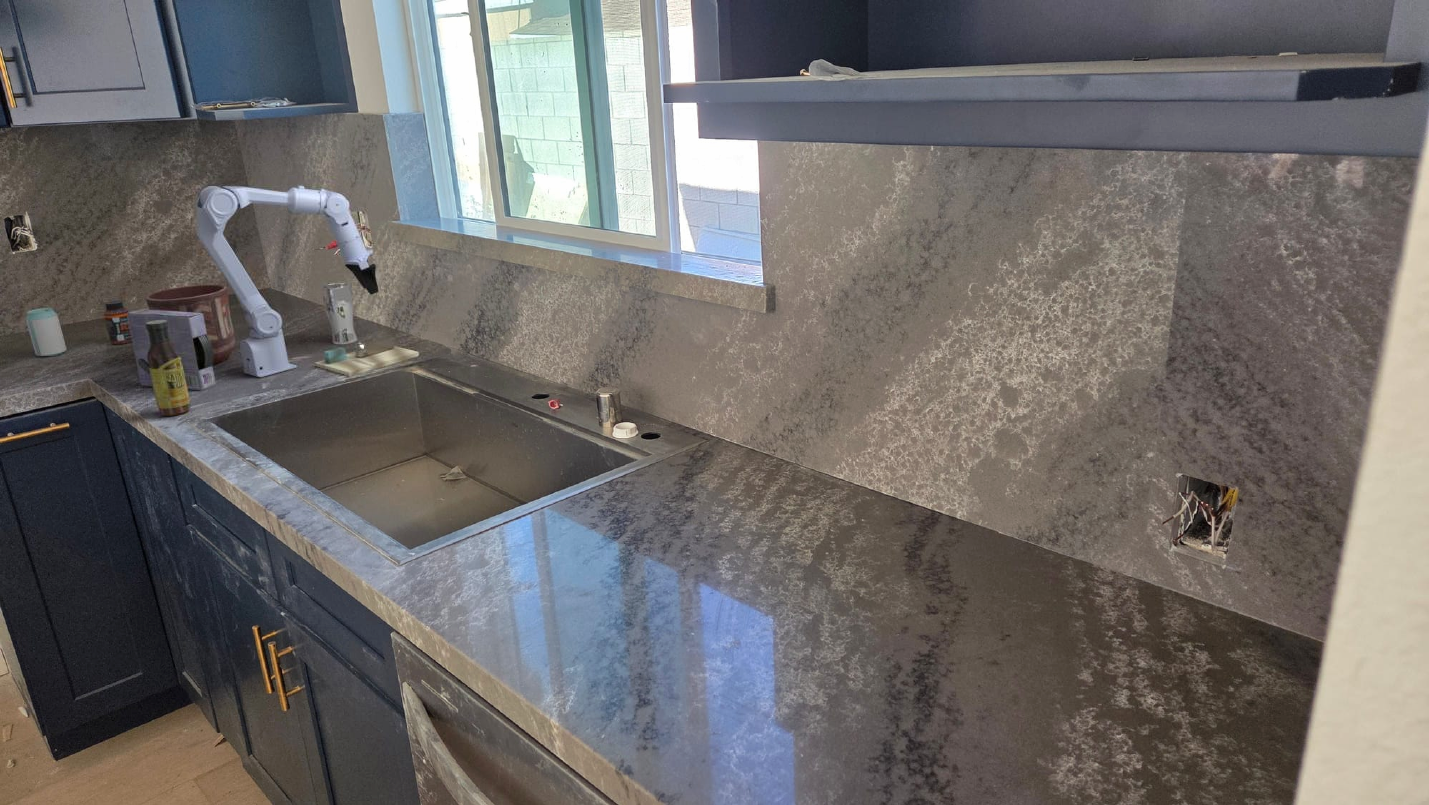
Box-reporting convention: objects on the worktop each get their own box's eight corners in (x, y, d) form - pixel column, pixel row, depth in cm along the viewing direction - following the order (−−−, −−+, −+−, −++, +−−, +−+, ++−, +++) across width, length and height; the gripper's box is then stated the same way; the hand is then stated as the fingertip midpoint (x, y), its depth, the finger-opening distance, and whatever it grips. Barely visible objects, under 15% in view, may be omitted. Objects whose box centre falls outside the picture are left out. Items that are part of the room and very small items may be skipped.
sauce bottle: (178, 417, 211) (156, 326, 204) (152, 417, 212) (130, 326, 205) (199, 407, 217) (178, 318, 210) (174, 406, 218) (153, 317, 211)
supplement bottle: (127, 344, 272) (117, 304, 268) (106, 345, 272) (95, 305, 268) (140, 338, 277) (130, 298, 274) (119, 339, 278) (108, 299, 274)
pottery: (202, 374, 241) (186, 300, 235) (146, 370, 246) (129, 298, 241) (256, 354, 257) (242, 284, 251) (202, 350, 262) (187, 283, 256)
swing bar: (360, 358, 243) (357, 344, 242) (354, 356, 244) (351, 343, 243) (394, 348, 250) (392, 335, 249) (388, 346, 251) (386, 333, 250)
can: (54, 349, 270) (42, 306, 266) (73, 351, 268) (61, 307, 264) (30, 357, 264) (17, 313, 260) (49, 358, 262) (36, 314, 258)
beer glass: (341, 346, 259) (330, 289, 254) (325, 342, 263) (315, 286, 258) (364, 339, 264) (354, 283, 259) (349, 336, 268) (339, 281, 263)
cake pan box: (222, 384, 232) (205, 310, 226) (205, 391, 227) (188, 316, 222) (157, 380, 238) (139, 308, 232) (140, 387, 233) (121, 313, 227)
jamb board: (349, 376, 233) (347, 360, 232) (315, 366, 242) (312, 351, 241) (418, 355, 246) (416, 340, 245) (384, 347, 256) (381, 332, 254)
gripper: (370, 238, 240) (392, 289, 246) (358, 228, 252) (379, 278, 258) (342, 249, 237) (365, 300, 244) (331, 239, 249) (353, 288, 255)
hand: (371, 289), depth 251 cm, fingers open, 7 cm apart
